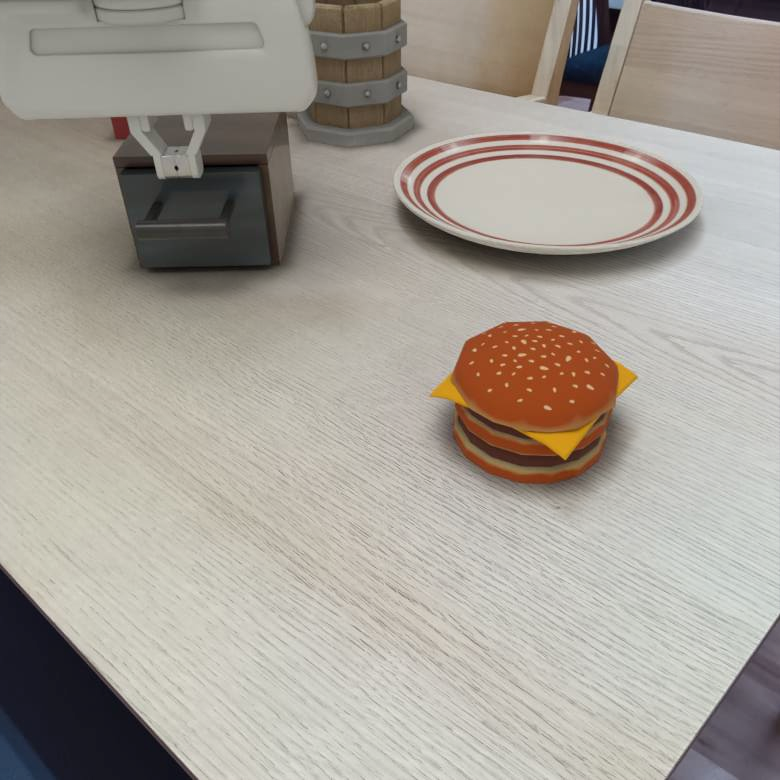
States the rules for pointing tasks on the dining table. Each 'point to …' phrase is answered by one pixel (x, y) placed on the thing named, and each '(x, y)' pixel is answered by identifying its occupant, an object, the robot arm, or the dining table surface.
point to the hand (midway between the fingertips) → (181, 175)
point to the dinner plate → (547, 192)
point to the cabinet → (232, 160)
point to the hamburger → (533, 400)
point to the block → (120, 127)
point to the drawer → (198, 217)
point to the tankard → (357, 74)
